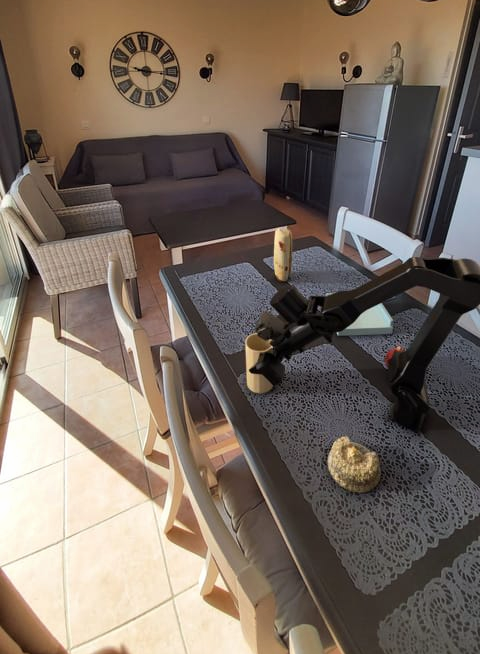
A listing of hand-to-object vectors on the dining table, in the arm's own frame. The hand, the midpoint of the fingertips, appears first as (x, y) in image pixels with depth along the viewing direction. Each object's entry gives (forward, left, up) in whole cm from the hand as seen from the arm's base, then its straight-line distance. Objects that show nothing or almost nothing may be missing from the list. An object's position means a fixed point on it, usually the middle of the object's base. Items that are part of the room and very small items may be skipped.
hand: (254, 361), depth 88 cm
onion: (+24, -27, -7) cm, 37 cm away
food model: (+48, +22, -7) cm, 53 cm away
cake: (-6, -28, -7) cm, 30 cm away
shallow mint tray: (+40, -11, -7) cm, 42 cm away
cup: (+1, -1, -7) cm, 7 cm away
